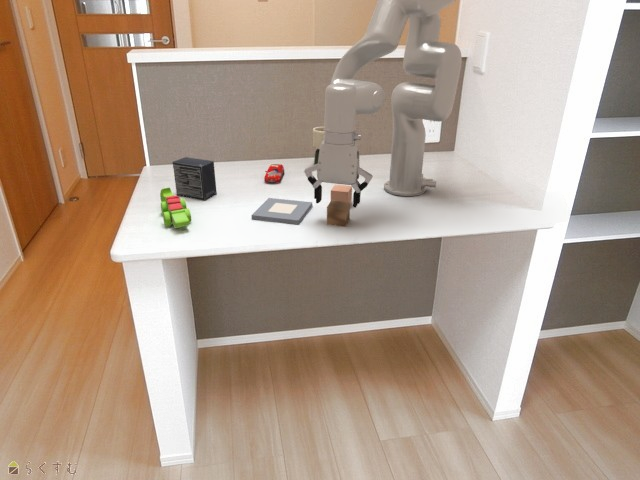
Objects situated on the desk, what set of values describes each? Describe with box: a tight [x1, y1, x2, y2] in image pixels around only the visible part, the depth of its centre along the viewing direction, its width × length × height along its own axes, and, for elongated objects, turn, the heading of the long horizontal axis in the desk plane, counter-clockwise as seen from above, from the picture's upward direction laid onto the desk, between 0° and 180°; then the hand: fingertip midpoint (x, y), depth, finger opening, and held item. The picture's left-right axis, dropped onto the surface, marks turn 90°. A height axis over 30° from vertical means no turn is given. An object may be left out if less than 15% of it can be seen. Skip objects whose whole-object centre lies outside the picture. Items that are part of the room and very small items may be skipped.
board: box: [251, 197, 313, 225], centre depth 136 cm, size 13×13×1 cm
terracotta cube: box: [330, 184, 353, 205], centre depth 140 cm, size 5×5×5 cm
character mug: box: [312, 126, 324, 165], centre depth 170 cm, size 11×7×13 cm, turn 14°
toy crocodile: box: [160, 186, 192, 229], centre depth 131 cm, size 20×7×6 cm, turn 22°
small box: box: [172, 156, 218, 202], centre depth 146 cm, size 11×6×10 cm, turn 65°
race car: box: [263, 163, 285, 184], centre depth 161 cm, size 13×5×4 cm, turn 174°
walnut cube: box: [326, 199, 351, 228], centre depth 129 cm, size 5×5×5 cm
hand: (336, 203), depth 127 cm, fingers open, 9 cm apart
